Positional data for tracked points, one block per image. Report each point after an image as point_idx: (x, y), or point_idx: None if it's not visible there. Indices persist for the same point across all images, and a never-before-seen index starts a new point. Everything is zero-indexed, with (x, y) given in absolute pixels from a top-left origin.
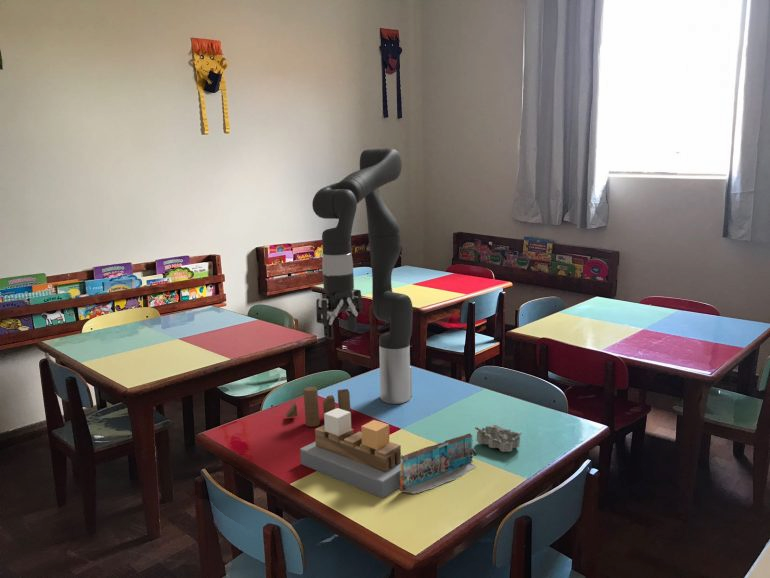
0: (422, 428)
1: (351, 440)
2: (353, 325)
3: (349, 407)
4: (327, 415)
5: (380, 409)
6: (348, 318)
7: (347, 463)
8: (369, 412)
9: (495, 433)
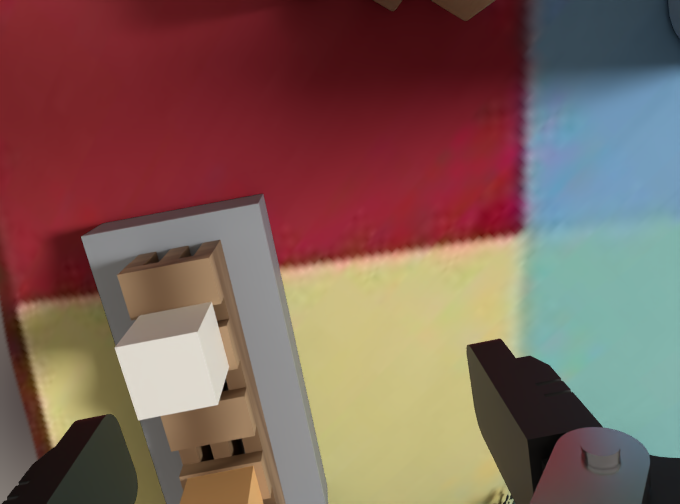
0: (572, 280)
1: (177, 435)
2: (495, 453)
3: (469, 16)
4: (121, 365)
5: (604, 37)
6: (514, 434)
7: (159, 417)
8: (552, 30)
9: None
